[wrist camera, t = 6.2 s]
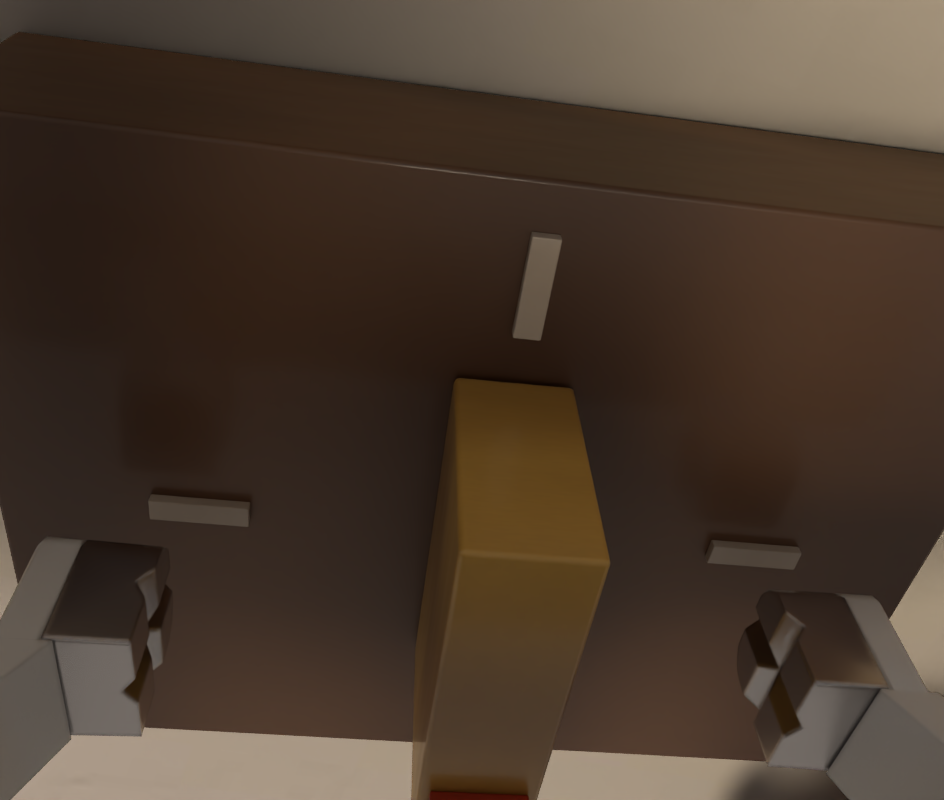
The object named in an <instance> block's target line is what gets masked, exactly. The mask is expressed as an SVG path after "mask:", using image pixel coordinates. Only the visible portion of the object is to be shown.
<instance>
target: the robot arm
mask: <svg viewBox="0 0 944 800" xmlns="http://www.w3.org/2000/svg"><path fill="white" fill-rule="evenodd" d="M170 568H171V566H170V557H169V549H167V548H166V547H160V546H150V545H139V544H129V543H118V542H108V541H97V540H79V539H69V538H58V537H48V536H47V537H46V538H45V539H44V540H43V541H42V542H41V543H40V544H39V545H38V546H37V547H36V549H35V551H34V553H33V555H32V557H31V559H30V561H29V563H28V565H27V567H26V569H25V571H24V573H23V575H22V577H21V579H20V581H19V583H18V585H17V587H16V589H15V591H14V593H13V595H12V597H11V599H10V601H9V603H8V605H7V607H6V609H5V611H4V613H3V615H2V617H1V619H0V800H11V799H12V798H13V797H14V796H15V795H16V794H17V793H18V792H19V791H20V790H21V789H22V788H23V787H24V786H25V785H26V784H27V783H28V782H29V781H30V780H31V779H32V778H33V777H34V776H35V775H36V774H37V773H38V772H39V771H40V770H41V769H42V768H43V767H44V766H45V765H46V764H47V763H48V762H49V761H50V760H51V759H52V758H53V757H54V756H55V755H56V754H57V753H58V752H59V751H60V750H61V749H62V748H63V747H64V746H65V745H66V744H67V743H68V742H69V741H70V740H71V735H99V736H142V733H143V729H144V726H145V723H146V719H147V716H148V713H149V709H150V706H151V703H152V699H153V696H154V693H155V686H154V675H153V670H154V669H156V668H157V667H158V666H159V665H160V664H162V663H163V662H164V658H165V655H166V651H167V648H168V644H169V639H170V633H171V627H172V621H173V591H172V590H171V589H170V588H169V587H168V586H167V585H166V581H167V577H168V574H169V571H170ZM755 608H756V611H757V614H758V616H759V620H757V621H756V622H754V623H753V624H751V625H750V626H748V627H747V628H745V630H744V632H743V634H742V637H741V639H740V641H739V644H738V651H737V663H736V664H737V672H738V679H739V682H740V685H741V688H742V692H743V695H744V696H745V697H746V698H747V699H748V700H749V701H750V702H752V703H753V704H754V705H755V706H756V707H757V708H758V709H759V711H758V713H757V715H756V717H755V720H754V722H753V725H754V728H755V730H756V733H757V736H758V739H759V742H760V745H761V748H762V751H763V754H764V757H765V760H766V762H767V765H768V766H772V767H785V768H798V769H811V770H824V771H827V773H826V774H827V775H828V777H829V778H830V779H831V780H832V781H833V782H834V783H835V784H836V786H837V787H838V788H839V789H840V790H841V791H842V792H843V794H844V795H845V796H846V797H847V798H848V799H849V800H944V697H943V696H942V695H941V694H939V693H936V692H928V691H927V689H926V687H925V685H924V683H923V681H922V679H921V678H920V676H919V674H918V672H917V670H916V668H915V667H914V665H913V663H912V661H911V659H910V657H909V655H908V654H907V652H906V650H905V648H904V646H903V644H902V643H901V641H900V639H899V637H898V635H897V633H896V631H895V630H894V628H893V626H892V624H891V622H890V620H889V618H888V617H887V615H886V613H885V611H884V609H883V607H882V606H881V604H880V602H879V601H878V600H876V599H875V598H874V597H873V596H870V595H854V594H834V593H825V592H808V591H791V590H774V589H768V590H767V591H766V592H765V593H763V594H762V595H761V597H760V599H759V601H758V603H757V605H756V607H755Z"/></svg>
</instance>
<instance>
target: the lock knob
mask: <svg viewBox="0 0 944 800" xmlns="http://www.w3.org/2000/svg"><path fill="white" fill-rule="evenodd" d="M610 564H611V563H610V558H609V554H608V549H607V544H606V540H605V535H604V530H603V526H602V521H601V516H600V512H599V507H598V502H597V498H596V493H595V488H594V484H593V479H592V474H591V470H590V465H589V460H588V456H587V451H586V446H585V442H584V437H583V432H582V428H581V423H580V418H579V414H578V409H577V405H576V400H575V395H574V391H573V390H572V389H571V388H565V387H554V386H543V385H532V384H521V383H510V382H499V381H488V380H477V379H466V378H457V379H456V380H455V382H454V384H453V391H452V398H451V405H450V412H449V419H448V426H447V432H446V439H445V446H444V453H443V460H442V467H441V474H440V481H439V488H438V495H437V502H436V509H435V516H434V522H433V529H432V536H431V543H430V550H429V557H428V564H427V571H426V578H425V585H424V592H423V599H422V606H421V612H420V619H419V626H418V633H417V640H416V647H415V676H414V714H413V753H412V792H411V800H537V797H538V794H539V791H540V788H541V784H542V781H543V778H544V775H545V772H546V768H547V765H548V762H549V759H550V756H551V752H552V749H553V746H554V743H555V740H556V736H557V733H558V730H559V727H560V724H561V720H562V717H563V714H564V711H565V708H566V704H567V701H568V698H569V695H570V692H571V688H572V685H573V682H574V679H575V676H576V672H577V669H578V666H579V663H580V660H581V656H582V653H583V650H584V647H585V644H586V640H587V637H588V634H589V631H590V628H591V624H592V621H593V618H594V615H595V612H596V608H597V605H598V602H599V599H600V596H601V592H602V589H603V586H604V583H605V580H606V576H607V573H608V570H609V567H610Z"/></svg>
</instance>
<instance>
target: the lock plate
mask: <svg viewBox="0 0 944 800" xmlns="http://www.w3.org/2000/svg"><path fill="white" fill-rule="evenodd" d="M457 378H466V379H477V380H488V381H499V382H510V383H521V384H532V385H543V386H554V387H565V388H571V389H572V390H573V391H574V395H575V400H576V405H577V409H578V414H579V418H580V423H581V428H582V432H583V437H584V442H585V446H586V451H587V456H588V460H589V465H590V470H591V474H592V479H593V484H594V488H595V493H596V498H597V502H598V507H599V512H600V516H601V521H602V526H603V530H604V535H605V540H606V544H607V549H608V554H609V558H610V563H611V564H610V567H609V570H608V573H607V576H606V580H605V583H604V586H603V589H602V592H601V596H600V599H599V602H598V605H597V608H596V612H595V615H594V618H593V621H592V624H591V628H590V631H589V634H588V637H587V640H586V644H585V647H584V650H583V653H582V656H581V660H580V663H579V666H578V669H577V672H576V676H575V679H574V682H573V685H572V688H571V692H570V695H569V698H568V701H567V704H566V708H565V711H564V714H563V717H562V720H561V724H560V727H559V730H558V733H557V736H556V740H555V743H554V746H553V749H552V750H569V751H587V752H605V753H624V754H642V755H660V756H679V757H697V758H715V759H734V760H752V761H766V760H765V757H764V754H763V751H762V748H761V745H760V742H759V739H758V736H757V733H756V730H755V728H754V725H753V722H754V720H755V717H756V715H757V713H758V711H759V709H758V708H757V707H756V706H755V705H754V704H753V703H752V702H750V701H749V700H748V699H747V698H746V697H745V696H744V695H743V692H742V688H741V685H740V682H739V679H738V672H737V664H736V663H737V651H738V644H739V641H740V639H741V637H742V634H743V632H744V630H745V628H747V627H748V626H750V625H751V624H753V623H754V622H756V621H757V620H759V616H758V614H757V611H756V608H755V607H756V605H757V603H758V601H759V599H760V597H761V595H762V594H763V593H765V592H766V591H767V590H768V589H774V590H791V591H808V592H825V593H834V594H854V595H870V596H873V597H874V598H875V599H876V600H878V601H879V602H880V604H881V606H882V607H883V609H884V611H885V613H886V615H887V617H888V618H889V619H890V617H891V615H892V614H893V612H894V611H895V609H896V607H897V606H898V604H899V602H900V601H901V599H902V597H903V596H904V594H905V593H906V591H907V589H908V588H909V586H910V584H911V583H912V581H913V579H914V578H915V576H916V575H917V573H918V571H919V570H920V568H921V566H922V565H923V563H924V562H925V560H926V558H927V557H928V555H929V553H930V552H931V550H932V548H933V547H934V545H935V544H936V542H937V540H938V539H939V537H940V535H941V534H942V532H943V530H944V155H942V154H934V153H927V152H919V151H912V150H904V149H897V148H889V147H882V146H874V145H867V144H859V143H852V142H844V141H837V140H829V139H822V138H814V137H806V136H799V135H791V134H784V133H776V132H769V131H761V130H754V129H746V128H739V127H731V126H724V125H716V124H709V123H701V122H694V121H686V120H679V119H671V118H663V117H656V116H648V115H641V114H633V113H626V112H618V111H611V110H603V109H596V108H588V107H581V106H573V105H566V104H558V103H551V102H543V101H536V100H528V99H520V98H513V97H505V96H498V95H490V94H483V93H475V92H468V91H460V90H453V89H445V88H438V87H430V86H423V85H415V84H408V83H400V82H392V81H385V80H377V79H370V78H362V77H355V76H347V75H340V74H332V73H325V72H317V71H310V70H302V69H295V68H287V67H280V66H272V65H265V64H257V63H249V62H242V61H234V60H227V59H219V58H212V57H204V56H197V55H189V54H182V53H174V52H167V51H159V50H152V49H144V48H137V47H129V46H122V45H114V44H106V43H99V42H91V41H84V40H76V39H69V38H61V37H54V36H46V35H39V34H31V33H24V32H18V33H15V34H14V35H12V36H10V37H9V38H7V39H6V40H4V41H3V42H1V43H0V506H1V511H2V515H3V520H4V524H5V529H6V533H7V538H8V542H9V547H10V551H11V556H12V560H13V564H14V569H15V573H16V578H17V582H18V583H19V581H20V579H21V577H22V575H23V573H24V571H25V569H26V567H27V565H28V563H29V561H30V559H31V557H32V555H33V553H34V551H35V549H36V547H37V546H38V545H39V544H40V543H41V542H42V541H43V540H44V539H45V538H46V537H47V536H48V537H58V538H69V539H79V540H97V541H108V542H118V543H129V544H139V545H150V546H160V547H166V548H167V549H169V557H170V566H171V568H170V571H169V574H168V577H167V581H166V585H167V586H168V587H169V588H170V589H171V590H172V591H173V621H172V627H171V633H170V639H169V644H168V648H167V651H166V655H165V658H164V662H163V663H162V664H160V665H159V666H158V667H157V668H156V669H154V670H153V675H154V686H155V693H154V696H153V699H152V703H151V706H150V709H149V713H148V716H147V719H146V723H145V726H144V727H147V728H165V729H183V730H202V731H220V732H238V733H257V734H275V735H293V736H312V737H330V738H348V739H367V740H385V741H403V742H413V714H414V676H415V647H416V640H417V633H418V626H419V619H420V612H421V606H422V599H423V592H424V585H425V578H426V571H427V564H428V557H429V550H430V543H431V536H432V529H433V522H434V516H435V509H436V502H437V495H438V488H439V481H440V474H441V467H442V460H443V453H444V446H445V439H446V432H447V426H448V419H449V412H450V405H451V398H452V391H453V384H454V382H455V380H456V379H457Z"/></svg>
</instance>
